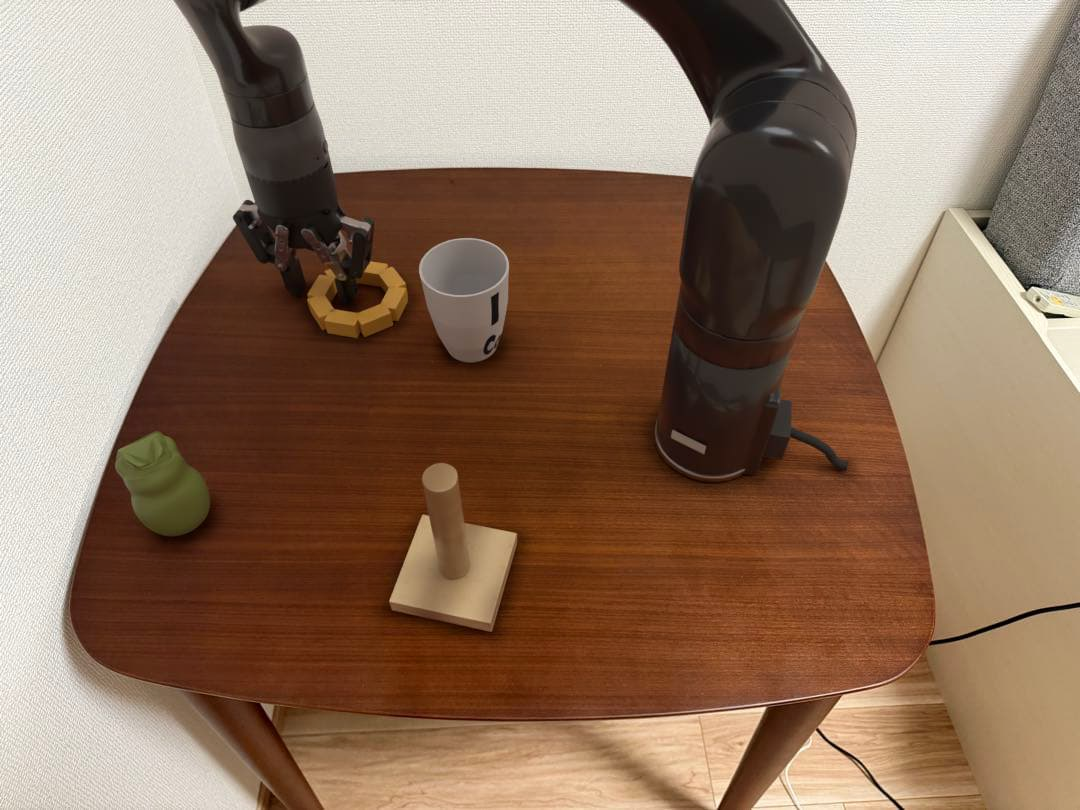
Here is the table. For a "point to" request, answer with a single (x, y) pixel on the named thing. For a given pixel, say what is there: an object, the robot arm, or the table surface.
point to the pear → (163, 485)
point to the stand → (453, 560)
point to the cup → (466, 295)
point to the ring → (366, 319)
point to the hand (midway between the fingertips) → (324, 295)
